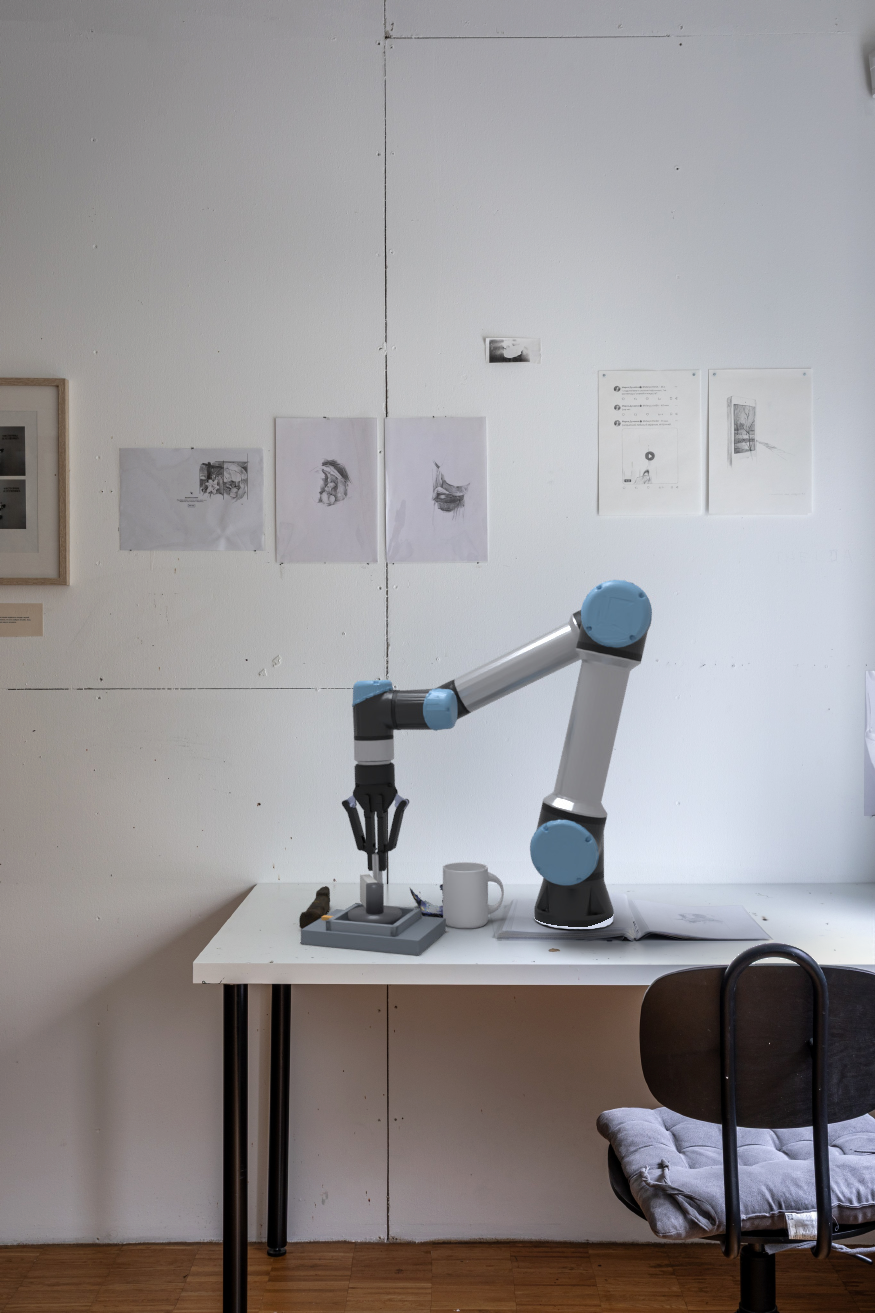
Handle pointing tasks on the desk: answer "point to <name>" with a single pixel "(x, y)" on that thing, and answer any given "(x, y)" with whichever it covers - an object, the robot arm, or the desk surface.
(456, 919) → the mug
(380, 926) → the panel
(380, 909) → the dial
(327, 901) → the dark brown lumpy bar
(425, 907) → the snack package
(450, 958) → the desk surface
